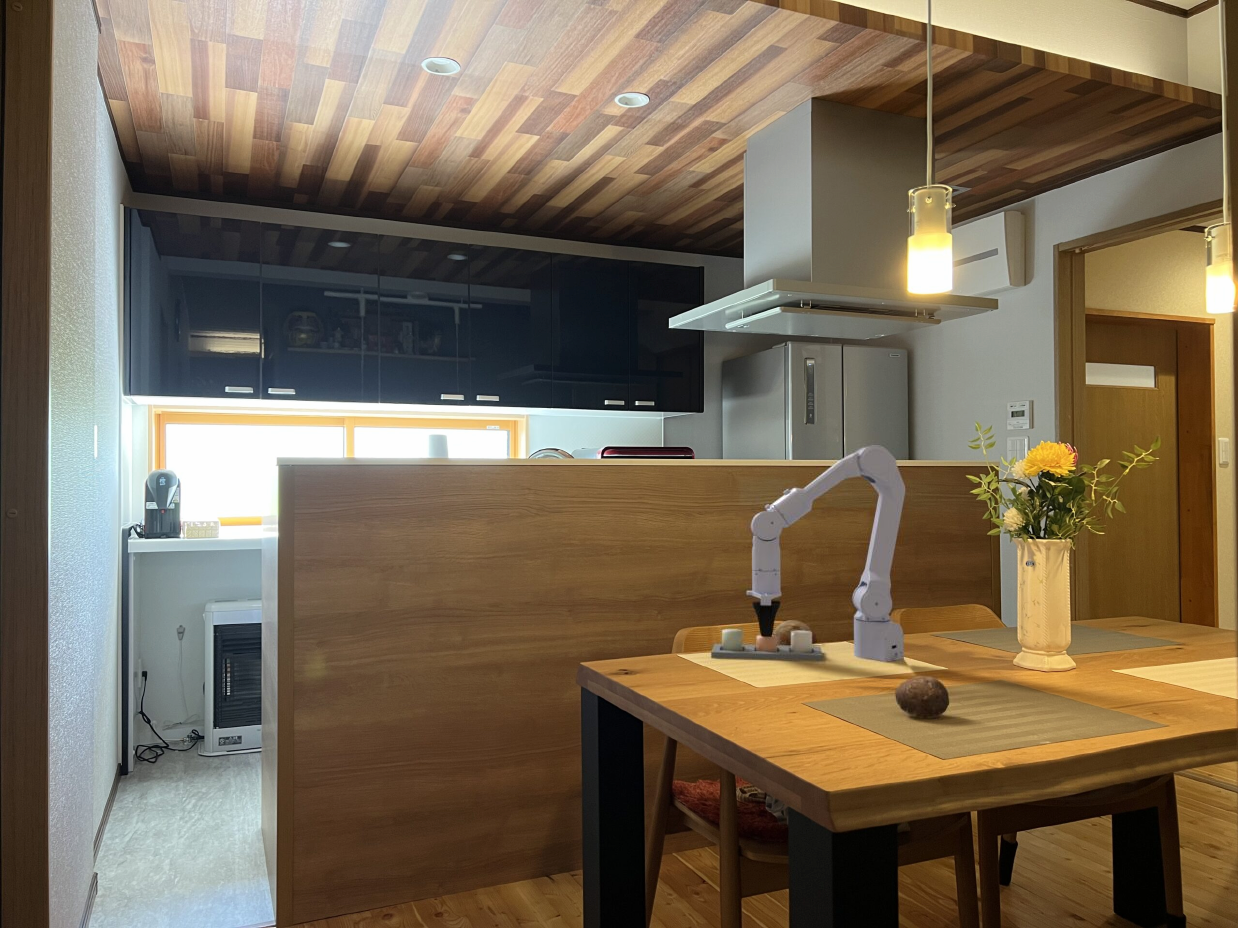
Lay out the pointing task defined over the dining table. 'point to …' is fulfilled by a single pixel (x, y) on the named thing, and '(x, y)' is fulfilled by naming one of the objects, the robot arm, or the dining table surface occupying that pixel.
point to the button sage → (732, 639)
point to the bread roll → (785, 631)
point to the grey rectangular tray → (767, 653)
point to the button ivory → (801, 641)
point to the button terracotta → (766, 643)
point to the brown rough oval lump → (922, 697)
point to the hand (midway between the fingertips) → (766, 636)
